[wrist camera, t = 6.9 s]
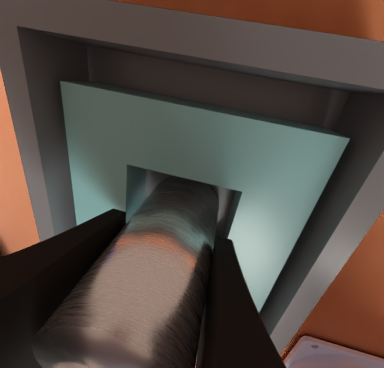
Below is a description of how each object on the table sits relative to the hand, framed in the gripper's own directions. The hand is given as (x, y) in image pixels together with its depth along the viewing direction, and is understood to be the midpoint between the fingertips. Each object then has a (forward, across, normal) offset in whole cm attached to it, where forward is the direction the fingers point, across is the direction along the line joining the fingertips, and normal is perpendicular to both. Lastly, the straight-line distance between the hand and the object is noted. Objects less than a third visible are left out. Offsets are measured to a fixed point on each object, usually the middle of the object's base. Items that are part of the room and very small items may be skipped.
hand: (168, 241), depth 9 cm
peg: (+3, 0, 0) cm, 3 cm away
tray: (+5, 0, 0) cm, 5 cm away
